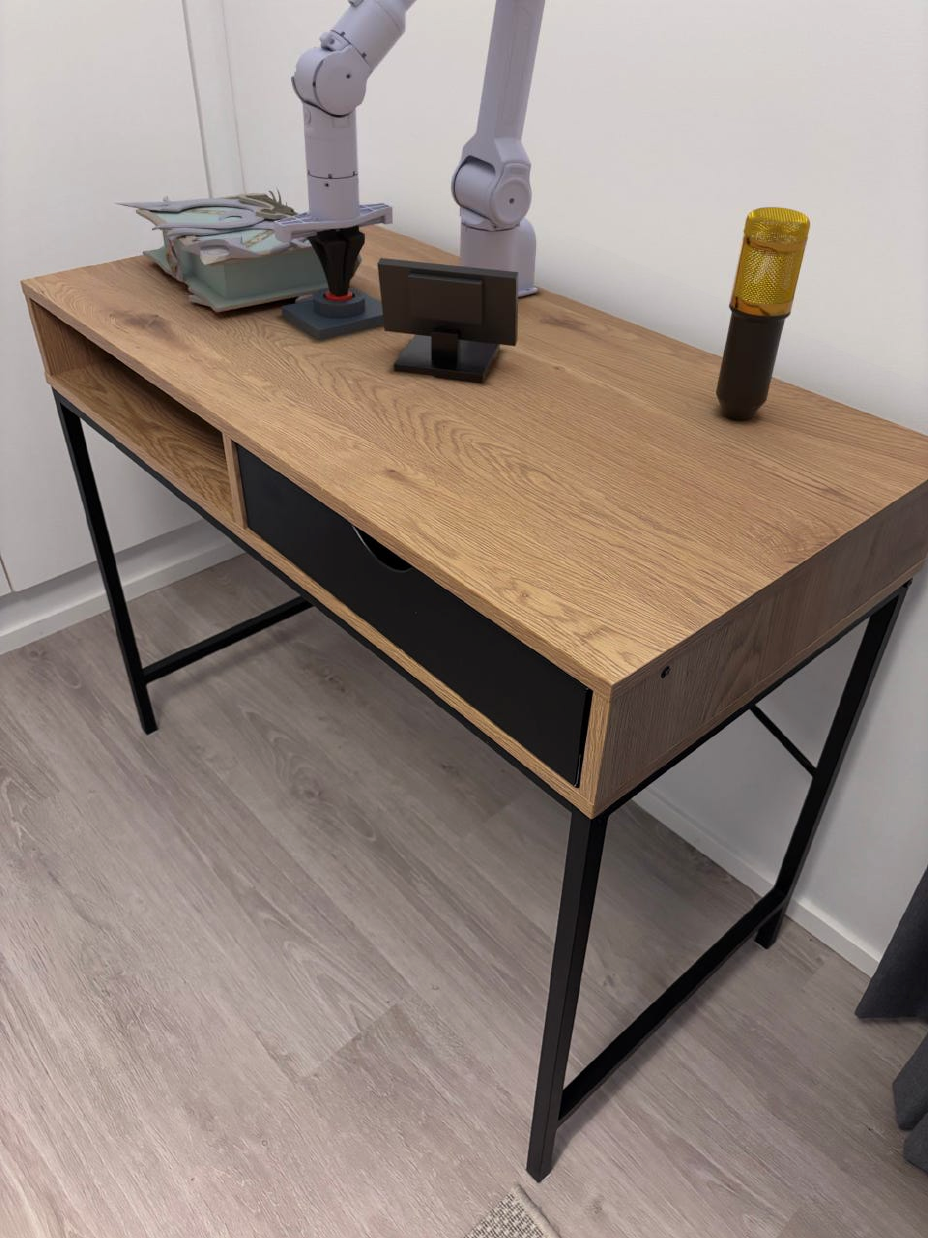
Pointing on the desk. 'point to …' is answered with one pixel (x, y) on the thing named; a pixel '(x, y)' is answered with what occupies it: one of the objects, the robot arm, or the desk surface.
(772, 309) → the microphone
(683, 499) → the desk surface
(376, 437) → the desk surface
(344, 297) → the power button
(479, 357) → the monitor stand
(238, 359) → the desk surface
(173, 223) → the ornate book
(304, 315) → the switch box
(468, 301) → the screen
